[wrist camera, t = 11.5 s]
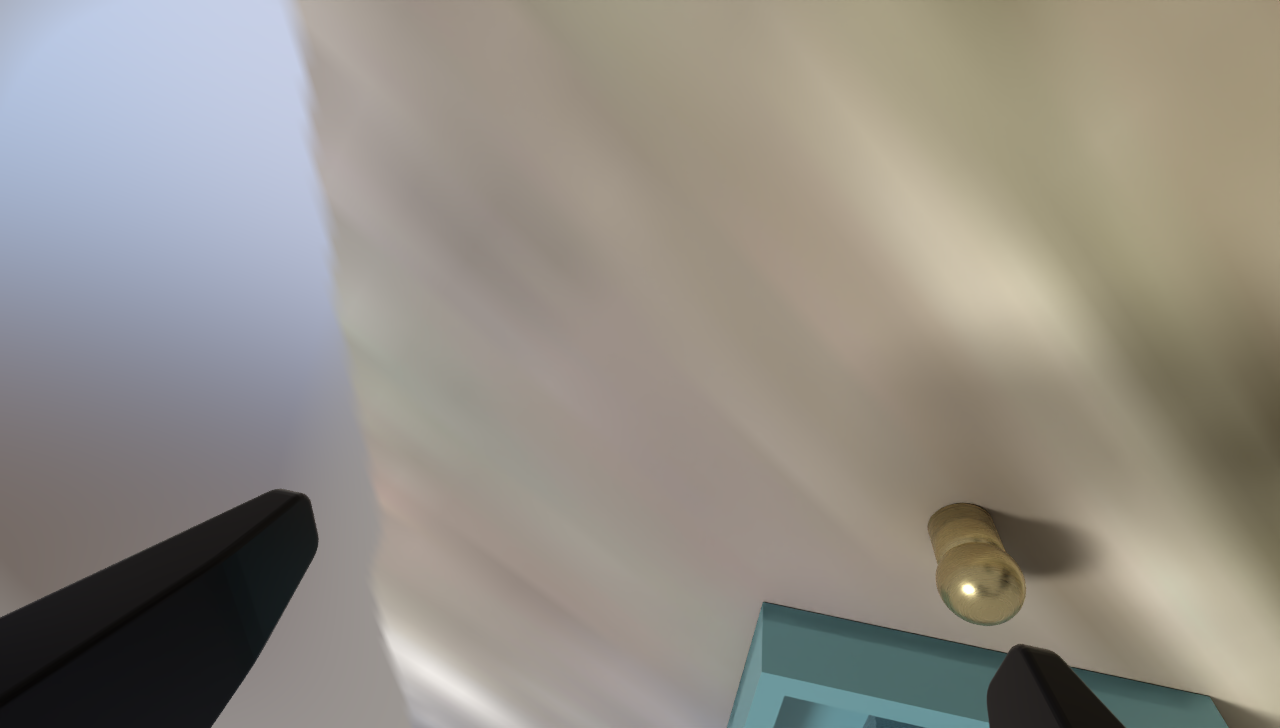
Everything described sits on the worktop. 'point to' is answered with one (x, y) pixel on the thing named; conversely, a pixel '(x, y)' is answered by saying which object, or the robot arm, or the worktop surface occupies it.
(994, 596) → the ball stud
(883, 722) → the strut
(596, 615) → the worktop surface
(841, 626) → the bin
